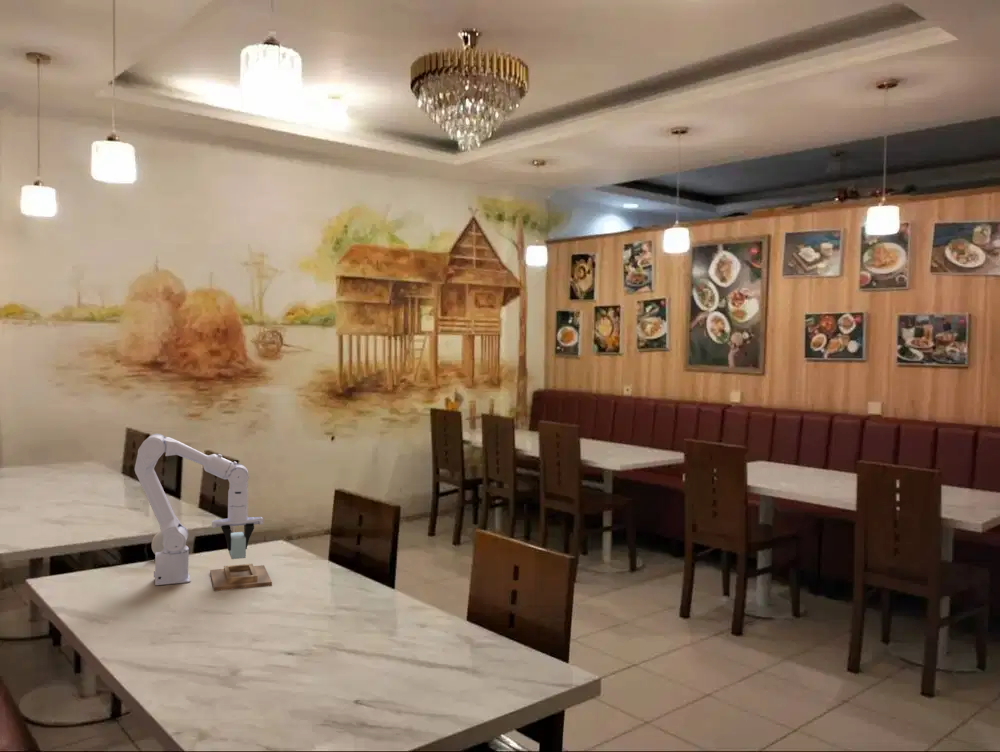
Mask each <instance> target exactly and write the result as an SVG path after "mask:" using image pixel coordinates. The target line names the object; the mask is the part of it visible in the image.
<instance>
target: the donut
mask: <svg viewBox="0 0 1000 752" xmlns="http://www.w3.org/2000/svg"><path fill="white" fill-rule="evenodd" d="M163 548H164V547H163V536H162V534H161V530H160V529H159V531H157V532H156V534H154V536H153V538H152V540H151V550H152V552H153V554H154V555H155V553H156V552H161V551H162V550H163Z"/></svg>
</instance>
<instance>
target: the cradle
mask: <svg viewBox="0 0 1000 752" xmlns="http://www.w3.org/2000/svg"><path fill="white" fill-rule="evenodd" d="M209 572H210V573H209V574H210V578H211V582H212V588H213V591H214V592H216V591H218V592H219V591H227V590H237V589H247V588H257V587H268V585H269V586H272V585H273V581H272V579H271V577H270V575H269V573H268V571H267V568H266V567H265V565H264V564H263V565H262V564H261V565H254V564H253V563H246V564H245V563H244V564H234V565H233V564H232V565H231V564H230V565H224V566H223V568H217V569H209Z"/></svg>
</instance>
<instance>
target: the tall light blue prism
mask: <svg viewBox="0 0 1000 752" xmlns="http://www.w3.org/2000/svg"><path fill="white" fill-rule="evenodd" d="M230 541H231V550H230V551H228V554H229V556H230V559H231V560H237V559H239V560H240V559H246V556H247V555H246V554H247V551H246V550H247V549H246V537H245V536H244V531H238V532H237V531H235V532H231V539H230Z"/></svg>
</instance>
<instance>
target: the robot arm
mask: <svg viewBox="0 0 1000 752" xmlns="http://www.w3.org/2000/svg"><path fill="white" fill-rule="evenodd" d="M164 453H165V457H169V456H179V457H182V458H184V459H186V460H189V461H192V462H194V463H195V464H196V463H197V464H199V465H202V467H203V470H204V471H205V472H206V473H209V474H211V475H213V476H216V477H217V478H220V479H222V480H228V482H229V485H228V487H229V489H228V491H227V493H228V494H227V495H228V496H227V518H220V519H212V521H211V528H213V529H215V528H220V529H221V530H222V532H223V534H224V538H225V540H226V545H227V551H228V552H229V551H230V550H231V541H230V539H231V533H232V530H231V527H236V526H238V527H239V526H244V527H243V529H244V530H243V534H244V536H245V537H246V550H248V544H249V540H250V539H251V535H252V534H253V532H254V529H255V525H260V526H261V525H264V518H263V517H262V516H249V515H248V513H249V489H248V488H249V483H248V481H249V479H250V478H249V477H250V476H249V471H248V468H247V467H246V466H245V465H243V464H242V463H238V462H237V461H236V460H234V461H231V460H229V459H226V458H225V457H223V454H221V453H218V454H217V453H212V454H209V455H208V454H205V453H204V452H201V451H200V450H197V449H195V448H193V447H191V446H189V445H187V444H186V443H183V442H181V441H179V440H177V439H175V438H172V437H169V436H164V435H163V434H161V433H153V434H151V435H149V436H148V437H147V438H146V439H145V440H143V442H142V443H141V445H140V446H139V448H138V449H137V455H136V459H135V465H134V472H135V475H136V477H137V479H138V481H139V484H140V487H141V488H142V490H143V492H144V494H145V496H146V498H147V501H148V503H149V505H150V507H151V510H152V511H153V513H154V516H155V518H156V520H157V523H158V524H159V528H160V529H159V531H160V530H161V534H162V536H163V547H164V548H163V550H162V551H161V552H156V553H155V554H154V555H155V556H154V557H155V558H154V566H155V567H154V571H153V578H154V585H155V586H162V585H174V584H175V585H176V584H183V583H184V584H185V583H191V576H190V573H189V562H190V561H189V559H190V558H189V557H190V555H189V552H190V551H189V550H190V549H189V546H188V545H187V541H188V539H189V530H188V529H187V528H186V526H184V525H183V524H182V523H181V521H180V519H179V518H178V517H177V516H176V514H175V511H174V510H173V508H172V505H171V503H170V500H169V499H168V497H167V495H166V492H165V491H164V487H163V486H162V484H161V482H160V479H159V477H158V475H157V472H156V470H155V467H156V465H157V463H158V462H159V459H160V458H161V456H163V454H164Z"/></svg>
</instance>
